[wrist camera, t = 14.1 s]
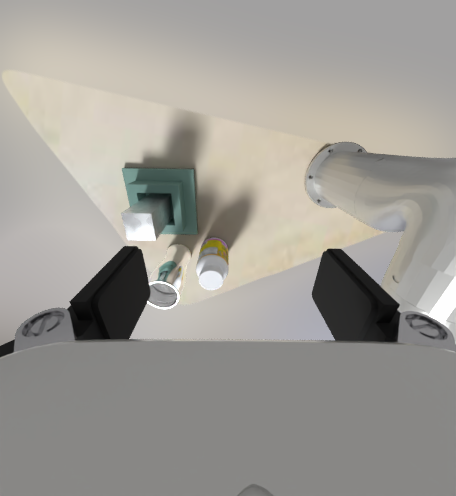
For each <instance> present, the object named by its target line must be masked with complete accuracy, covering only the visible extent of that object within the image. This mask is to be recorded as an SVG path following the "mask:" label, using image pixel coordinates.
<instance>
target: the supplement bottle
mask: <svg viewBox="0 0 456 496" xmlns="http://www.w3.org/2000/svg"><path fill="white" fill-rule="evenodd" d="M196 273H197V275H198V277H199V283H200V285H201V286H202V287H203V288H205V289H207V290H216V289H218V288H220V287H221V286H222V284H223V280H224V279H225V278H226V276H227V274H228V247H227V244H226V243H225V242H224V241H223V240H221V239H219V238H209V239H207V240H206V241H204V243H203V244H202V246H201V250H200V254H199V258H198V262H197V266H196Z"/></svg>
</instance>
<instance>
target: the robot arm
mask: <svg viewBox="0 0 456 496" xmlns="http://www.w3.org/2000/svg"><path fill="white" fill-rule="evenodd" d="M329 149H330V151H329ZM328 151H329V152H328ZM357 151H358V152H357ZM309 176H310V178H309ZM305 189H306V192H307V195H308V196H309V198H310V199H311V200H312V201H313V202H314V203H316V204H317V205H319V206H321V207H325V208H336V207H338V208H339V209H341V210H343V211H344V212H346V213H348V214H349V215H351V216H353V217H354V218H356V219H358V220H359V221H361V222H363V223H364V224H366V225H368V226H370V227H372V228H374V229H376V230H380V231H385V232H401V231H404V233H403V235H402V237H401V239H400V242H399V245H398V248H397V250H396V252H395V254H394V256H393V258H392V260H391V262H390V264H389V267H388V269H387V271H386V273H385V275H384V277H383V280H382V282H381V285H379V284H377V283H376V282H375V281H374V280H373V279H372V278H371V277H370V276H369V275H368V274H367V273H366V272H365V271H364V270H363V269H362V268H361V267H360V266H358V265H357V264H356V263H355V262H354V261H353V260H352V259H351V258H350V257H349V256H348V255H347V254H346V253H345V252H344V251H343V250H341V249H327V251H325V252H323V255H322V258H321V262H320V266H319V269H318V273H317V276H316V280H315V284H314V287H313V291H312V297H313V300H314V302H315V304H316V305H317V307H318V309H319V311H320V313H321V314H322V316H323V318H324V320H325V322H326V324H327V326H328V327H329V329H330V331H331V333H332V335H333V337H334V339H335V340H336V341H331V340H329V341H328V340H325V341H324V340H243V339H242V340H241V339H240V340H239V339H235V340H233V339H231V340H230V339H129V338H130V336H131V334H132V332H133V330H134V328H135V326H136V323H137V321H138V320H139V317H140V316H141V313H142V312H143V310H144V307H145V305H146V304H147V302H148V300H149V297H150V293H151V291H150V286H149V281H148V277H147V272H146V267H145V263H144V258H143V254H142V250H141V249H138V247H137V246H124V247H123V248H122V249H121V250H120V251H119V252H118V253H117V254H116V255H115V256H114V257H113V258H112V259H111V260H110V261H109V262H108V263H107V264H106V265H105V266H104V267H103V268H102V269H101V270H100V271H99V272H98V274H96V276H95V277H94V278H92V280H91V281H90V282H89V283H88V284H87V285H86V286H85V287H84V288H83V289H82V290H81V291H80V292H79V293H78V294H77V295H76V296H75V297H74V298H73V299H72V300H71V301H70V304H71V306H70V307H69V308H68V309H65V308H52V309H48V310H45V311H42V312H40V313H38V314H35V315H34V316H32V317H31V318H29V319H27V320H26V321H25V322H24V323H22V324H21V326H20V327H19V328H18V329H17V332H16V334H15V340H13V341H10V342H8V343H6V344H4V345H1V346H0V496H456V158H425V157H424V158H423V157H410V156H397V155H385V154H373V153H367V152H366V150H365V149H364V148H363V147H361V146H360V145H358V144H356V143H352V142H339V143H335V144H332V145H330V146H328V147H326V148H325V149H323V150H322V151H321V152H319V153H318V154H317V155H316V156H315V158H314V159H313V160H312V162H311V163H310V165H309V167H308V170H307V172H306V176H305ZM317 200H318V201H317Z"/></svg>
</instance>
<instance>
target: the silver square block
mask: <svg viewBox="0 0 456 496" xmlns="http://www.w3.org/2000/svg"><path fill="white" fill-rule="evenodd" d="M121 215H122V219H123V223H124V227H125V231H126V235H127V239H128V240H156V239H157V238H158V237H159V235H160V234H161V232H162V231H163V230H164V228H165V227H166V226H167V224H168V223H169V221H170V220H171V219H172V217H173V216H174V213H173V204H172V196H171V194H164V193H150V194H149V195H147V196H146V197H144V198H143V199H141V200H140V201H138V202H137V203H135V204H134V205H132V206H131V207H129V208H128V209H127V210H125V211H124V212H122V213H121Z"/></svg>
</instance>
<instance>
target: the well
mask: <svg viewBox="0 0 456 496" xmlns="http://www.w3.org/2000/svg"><path fill="white" fill-rule="evenodd" d="M122 172H123V177H124V181H125V186H126V190H127V195H128V199H129V204H130V207H131V206H132V205H134V204H135V203H137V202H138V201H140V200H141V199H143V198H144V197H146V196H147V195H149V194H150V193H164V194H171V196H172V204H173V213H174V216H173V217H172V219H171V220H170V221H169V223H168V224H167V226H166V227H165V228H164V230H163V231H162V232H161V234H197V233H198V229H197V213H196V197H195V180H194V169H161V168H122Z"/></svg>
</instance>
